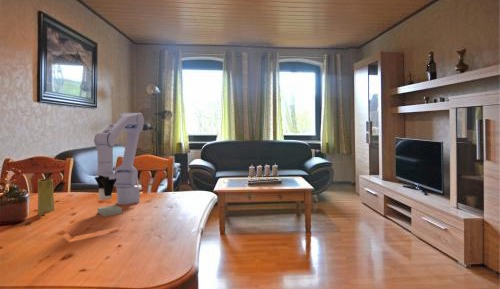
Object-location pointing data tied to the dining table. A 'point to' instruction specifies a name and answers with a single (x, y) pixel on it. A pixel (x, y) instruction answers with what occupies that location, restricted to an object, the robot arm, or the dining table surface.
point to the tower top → (109, 210)
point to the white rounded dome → (103, 194)
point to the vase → (45, 196)
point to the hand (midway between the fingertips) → (105, 194)
